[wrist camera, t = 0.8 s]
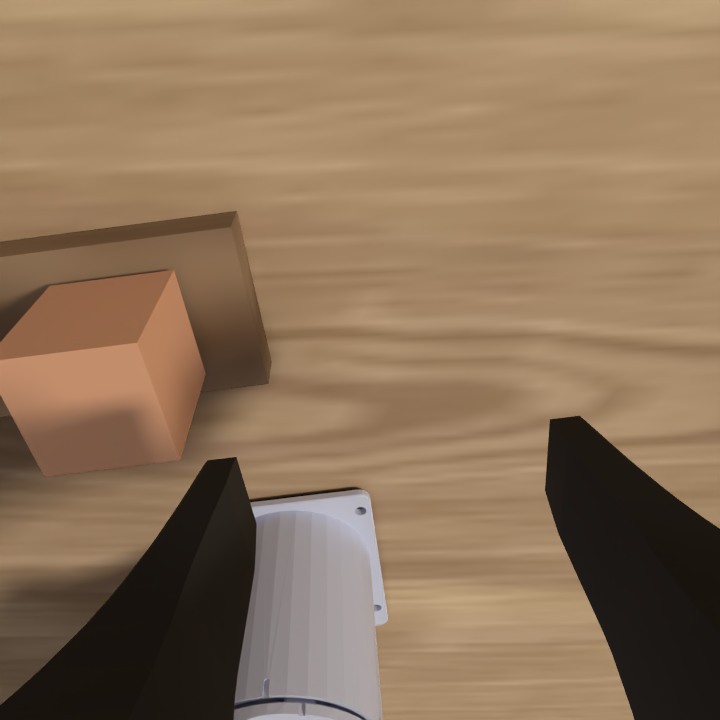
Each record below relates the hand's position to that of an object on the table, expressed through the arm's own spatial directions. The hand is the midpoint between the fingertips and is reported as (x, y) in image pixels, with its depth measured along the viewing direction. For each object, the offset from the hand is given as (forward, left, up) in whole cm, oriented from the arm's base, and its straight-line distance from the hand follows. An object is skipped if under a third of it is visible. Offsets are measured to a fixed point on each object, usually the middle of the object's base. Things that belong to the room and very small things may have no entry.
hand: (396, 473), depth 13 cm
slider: (0, +8, -8) cm, 12 cm away
